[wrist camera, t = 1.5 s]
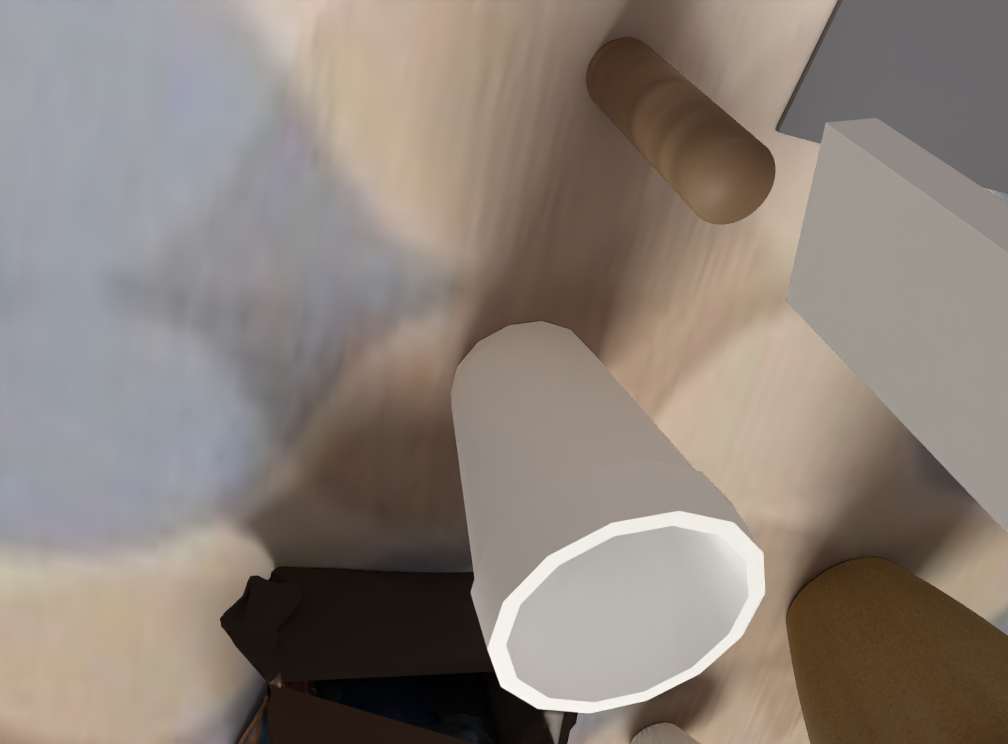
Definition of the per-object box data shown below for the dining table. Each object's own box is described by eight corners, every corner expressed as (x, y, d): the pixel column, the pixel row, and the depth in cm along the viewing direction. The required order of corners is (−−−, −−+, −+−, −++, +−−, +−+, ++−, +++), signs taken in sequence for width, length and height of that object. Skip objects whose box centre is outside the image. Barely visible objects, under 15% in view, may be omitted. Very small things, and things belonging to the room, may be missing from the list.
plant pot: (994, 570, 59) (1208, 813, 47) (801, 707, 63) (951, 966, 50) (894, 461, 51) (1123, 724, 38) (677, 627, 54) (821, 915, 42)
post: (575, 101, 34) (674, 215, 27) (602, 29, 33) (713, 128, 26) (639, 117, 35) (749, 231, 28) (667, 48, 34) (791, 149, 27)
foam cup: (511, 248, 37) (631, 469, 27) (669, 347, 42) (820, 566, 32) (370, 421, 40) (429, 677, 30) (532, 494, 45) (630, 736, 35)
